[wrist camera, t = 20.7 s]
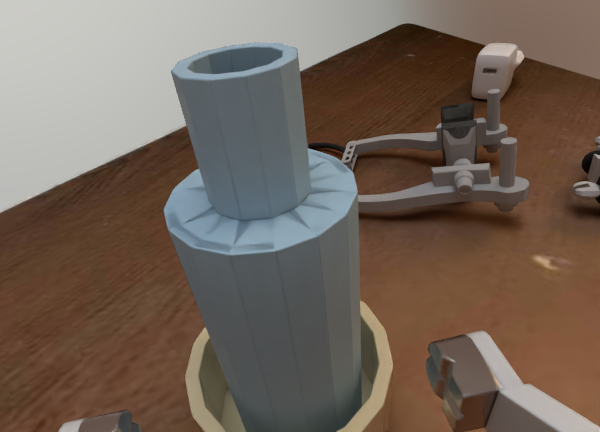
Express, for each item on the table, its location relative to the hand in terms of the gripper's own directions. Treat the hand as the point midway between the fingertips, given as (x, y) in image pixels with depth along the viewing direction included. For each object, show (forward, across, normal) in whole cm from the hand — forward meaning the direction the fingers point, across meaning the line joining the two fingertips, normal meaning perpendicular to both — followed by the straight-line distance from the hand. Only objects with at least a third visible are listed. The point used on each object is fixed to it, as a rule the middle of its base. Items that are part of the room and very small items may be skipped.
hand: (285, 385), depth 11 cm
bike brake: (+24, -13, +10) cm, 29 cm away
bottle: (+5, 0, +10) cm, 11 cm away
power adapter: (+42, -34, +10) cm, 55 cm away
